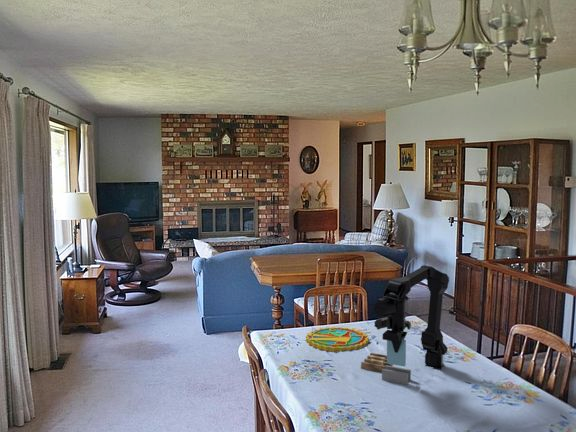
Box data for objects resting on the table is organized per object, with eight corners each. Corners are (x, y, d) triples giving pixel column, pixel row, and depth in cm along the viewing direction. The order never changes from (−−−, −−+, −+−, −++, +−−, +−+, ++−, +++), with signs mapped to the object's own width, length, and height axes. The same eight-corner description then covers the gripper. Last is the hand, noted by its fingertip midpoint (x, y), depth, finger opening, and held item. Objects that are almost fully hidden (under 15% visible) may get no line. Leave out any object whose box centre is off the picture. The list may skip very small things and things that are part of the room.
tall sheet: (405, 365, 196) (405, 340, 195) (404, 366, 195) (404, 341, 194) (387, 362, 200) (388, 337, 199) (386, 363, 198) (387, 338, 197)
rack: (394, 363, 215) (394, 356, 215) (385, 374, 204) (386, 366, 204) (369, 359, 220) (369, 352, 220) (360, 369, 209) (360, 362, 209)
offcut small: (383, 369, 208) (383, 361, 207) (382, 370, 207) (382, 362, 206) (371, 367, 210) (371, 358, 210) (370, 368, 209) (370, 360, 208)
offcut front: (385, 365, 211) (385, 357, 211) (383, 367, 210) (384, 358, 210) (371, 363, 214) (371, 355, 214) (370, 364, 213) (370, 356, 213)
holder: (410, 380, 198) (410, 369, 197) (407, 385, 193) (407, 374, 193) (385, 376, 202) (385, 365, 202) (381, 380, 198) (382, 369, 198)
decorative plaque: (304, 346, 230) (307, 325, 260) (304, 351, 230) (307, 330, 260) (370, 347, 227) (366, 326, 257) (370, 353, 227) (366, 331, 257)
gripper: (384, 303, 207) (383, 341, 209) (369, 316, 191) (369, 356, 192) (411, 307, 202) (410, 345, 203) (398, 320, 185) (398, 361, 187)
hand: (396, 351), depth 197 cm, fingers closed on tall sheet, 1 cm apart
